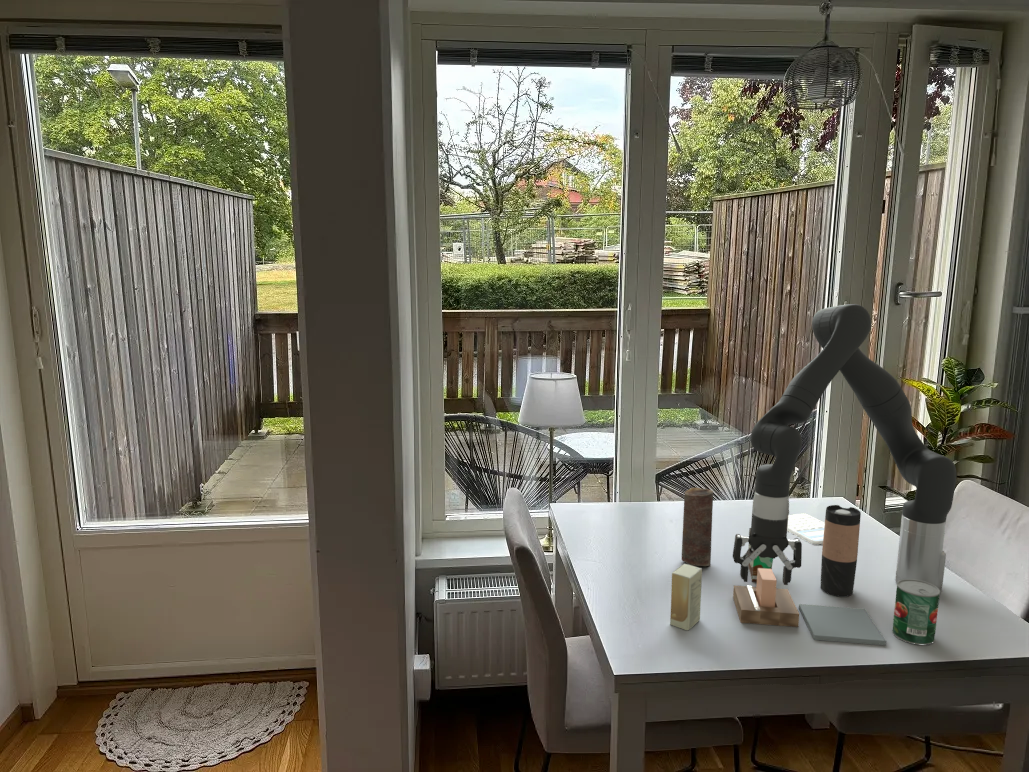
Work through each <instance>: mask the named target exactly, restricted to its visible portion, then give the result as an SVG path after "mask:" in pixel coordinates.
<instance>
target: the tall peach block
mask: <svg viewBox="0 0 1029 772" xmlns="http://www.w3.org/2000/svg"><path fill="white" fill-rule="evenodd" d="M777 582H778V581H777V578H776V576H775V573H774V572H773V568H772V569H764V568H758V571H757V582H756V586H755V587H756V600H757V602H758V605H759V606H762V607H775V597H776V588H777Z"/></svg>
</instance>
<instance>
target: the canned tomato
mask: <svg viewBox="0 0 1029 772" xmlns="http://www.w3.org/2000/svg"><path fill="white" fill-rule="evenodd" d="M940 594H941V591H940V590H939V589H938V588H937V587H936V586H934V585H933V584H930V583H928V582H924V581H920V580H915V579H903V580H900V581H898V582H897V583H896V591H895V601H894V603H895V604H894V611H893V619H892V620H893V621H892V629H891V633H892V635H893V634H894V635H893V636H896V637H895V638H897V639H898V638H899V639H898V640H900V639H901V640H900V641H902V640H903V641H902V642H904V641H906V642H905V643H907V642H909V643H908V644H910V643H915V644H930V643H932V642H934V643H935V640H936V639H935V637H936V629H937V620H938V613H939V612H938V610H939V603H940ZM932 644H933V643H932ZM930 645H931V644H930Z"/></svg>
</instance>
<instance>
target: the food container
mask: <svg viewBox="0 0 1029 772" xmlns="http://www.w3.org/2000/svg"><path fill="white" fill-rule="evenodd" d="M748 529H749V531H748V536H749V535H750V533H751V527H749V528H748ZM750 547H751V546H750V544H749V543H748V549H749V548H750ZM748 549H747V550H748ZM773 563H774V558H769V557H765V558H761V557H760V556H757V557H756V558H755V559H754V560H752V561H751V562H750V563H749V564H748V567H749V568H748V574H749V577H750V579H751V582H752V583H757V571H758V568H764V569H772V570H773Z"/></svg>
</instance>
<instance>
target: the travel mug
mask: <svg viewBox="0 0 1029 772" xmlns="http://www.w3.org/2000/svg"><path fill="white" fill-rule="evenodd" d="M861 513H862V512H861V511H860V510H859V509H857V508H855V507H853V506H852V507H851V506H850V507H842V506H840V505H838V504H831V505H828V506H826V509H825V518H824V523H825V526H824V537H823V544H822V551H821V567H820V569H821V570H820V589H821V591H822V592H824V593H825V594H828V595H830V596H834V597H843V598H845V597H849V596H852V595H853V594H854V587H855V579H856V571H857V564H858V563H857V562H858V556H859V555H858V554H859V542H860V541H859V539H860V529H861V528H860V527H861V517H862V515H861Z"/></svg>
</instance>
